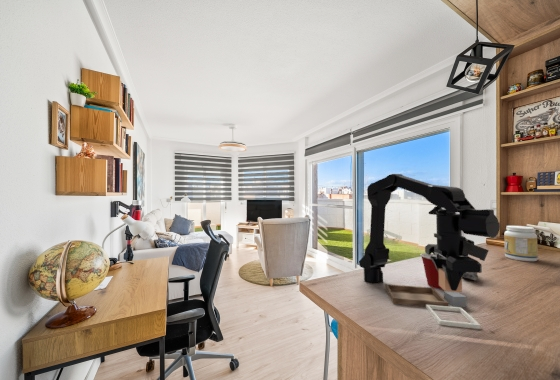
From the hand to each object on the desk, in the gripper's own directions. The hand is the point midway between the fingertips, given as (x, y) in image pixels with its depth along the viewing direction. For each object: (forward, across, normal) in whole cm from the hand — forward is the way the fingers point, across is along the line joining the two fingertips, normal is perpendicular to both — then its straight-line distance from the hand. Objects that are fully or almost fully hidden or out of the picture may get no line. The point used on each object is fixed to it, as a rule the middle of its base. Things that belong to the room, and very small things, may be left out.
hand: (449, 287), depth 64 cm
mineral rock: (+10, +38, -22) cm, 45 cm away
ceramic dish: (+9, 0, 0) cm, 9 cm away
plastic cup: (+9, +24, -6) cm, 26 cm away
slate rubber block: (+9, +9, -5) cm, 14 cm away
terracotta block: (0, 0, 0) cm, 0 cm away
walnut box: (+9, +11, +6) cm, 15 cm away
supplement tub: (+9, +75, -65) cm, 100 cm away
